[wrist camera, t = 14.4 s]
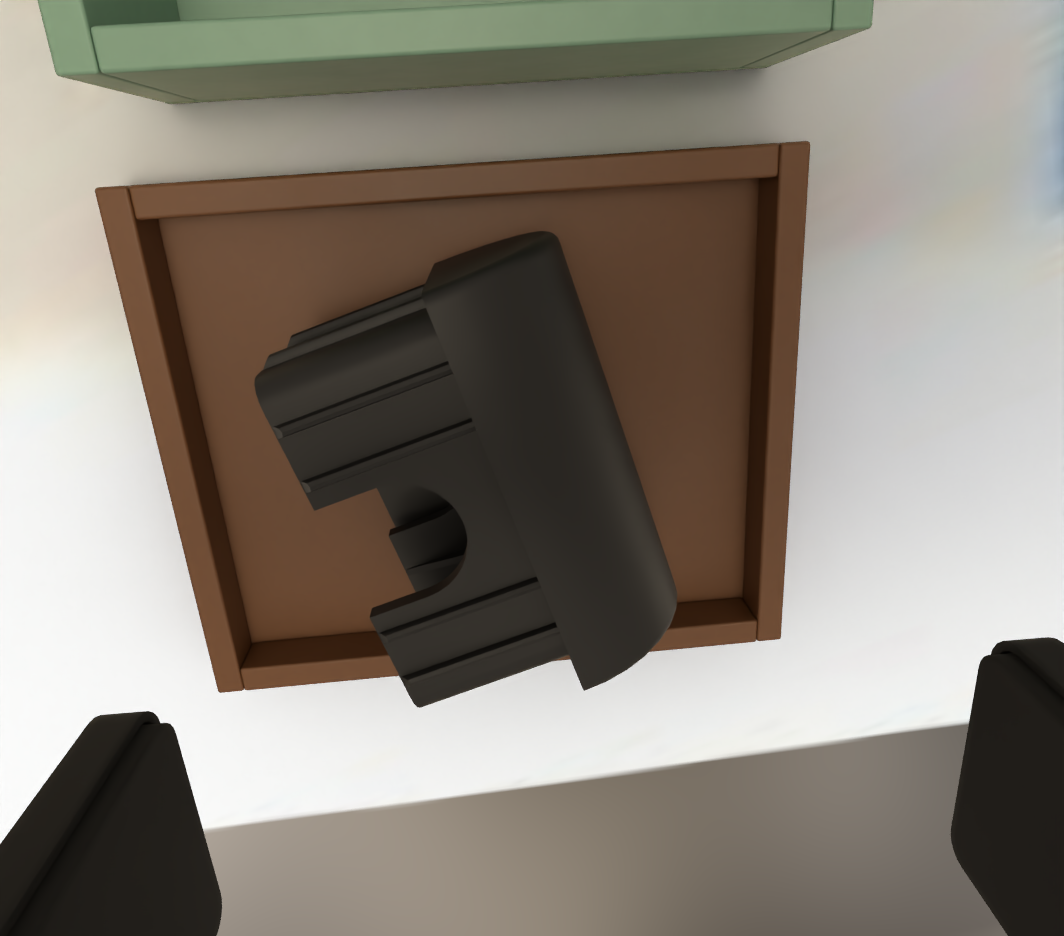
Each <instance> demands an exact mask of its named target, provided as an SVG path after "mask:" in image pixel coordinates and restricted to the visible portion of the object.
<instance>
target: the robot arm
mask: <svg viewBox="0 0 1064 936" xmlns="http://www.w3.org/2000/svg"><path fill="white" fill-rule="evenodd" d="M951 840H952V845H953V849H954V852H955V855H956V857H957V860H958V861H959V863H960V865H961V867H962V868H963V869H964V871H965V873H966V874H967V876H968V877H969V879H970V880H971V882H972V883H973V884H974V886H975V888H976V889H977V890H978V892H979V893H980V895H981V896H982V898H983V899H984V901H985V902H986V904H987V905H988V907H989V908H990V910H991V911H992V913H993V914H994V916H995V917H996V919H997V920H998V921H999V923H1000V925H1001V926H1002V927H1003V929H1004V930H1005V932H1006V933H1007V935H1008V936H1064V643H1062V642H1061V641H1059V640H1058V639H1055V638H1049V637H1047V638H1035V639H1023V640H1011V641H1002V642H1000V643H997V644H996V646H995V647H994V648H993V650H992V653H991V655H988V656H985V657H984V658H983V659H982V660H981V662H980V665H979V669H978V675H977V681H976V686H975V692H974V698H973V704H972V710H971V715H970V721H969V727H968V733H967V739H966V745H965V751H964V756H963V762H962V768H961V774H960V779H959V786H958V791H957V797H956V803H955V809H954V814H953V820H952V826H951ZM221 912H222V899H221V893H220V889H219V885H218V882H217V878H216V875H215V871H214V868H213V864H212V861H211V857H210V854H209V850H208V847H207V843H206V839H205V836H204V832H203V829H202V825H201V821H200V818H199V814H198V811H197V807H196V804H195V800H194V797H193V793H192V789H191V786H190V782H189V779H188V775H187V772H186V768H185V765H184V761H183V757H182V754H181V750H180V747H179V743H178V740H177V736H176V733H175V730H174V728H173V727H172V726H171V724H168V723H160V721H159V719H158V717H157V716H156V715H155V714H154V713H153V712H149V711H146V712H133V713H121V714H109V715H100V716H97V717H95V718H94V719H93V720H92V721H91V722H90V723H89V724H88V725H87V726H86V728H85V729H84V730H83V732H82V733H81V735H80V736H79V737H78V739H77V740H76V741H75V743H74V744H73V745H72V747H71V748H70V750H69V751H68V752H67V754H66V755H65V756H64V758H63V759H62V761H61V762H60V763H59V765H58V766H57V767H56V769H55V770H54V771H53V773H52V774H51V776H50V777H49V778H48V780H47V781H46V782H45V784H44V785H43V786H42V788H41V789H40V791H39V792H38V793H37V795H36V796H35V797H34V799H33V800H32V802H31V803H30V804H29V806H28V807H27V808H26V810H25V811H24V812H23V814H22V815H21V817H20V818H19V819H18V821H17V822H16V823H15V825H14V826H13V828H12V829H11V830H10V832H9V833H8V834H7V836H6V837H5V838H4V840H3V841H2V843H1V844H0V936H216V935H217V932H218V929H219V925H220V920H221Z"/></svg>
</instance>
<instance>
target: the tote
mask: <svg viewBox="0 0 1064 936" xmlns="http://www.w3.org/2000/svg"><path fill="white" fill-rule="evenodd" d="M873 3H874V0H38V4H39V8H40V12H41V16H42V20H43V24H44V28H45V32H46V36H47V40H48V44H49V48H50V52H51V56H52V60H53V64H54V68H55V72H56V74H57V75H58V76H61V77H65V78H69V79H73V80H77V81H81V82H85V83H89V84H93V85H97V86H101V87H105V88H109V89H113V90H117V91H121V92H125V93H129V94H133V95H137V96H141V97H145V98H149V99H153V100H157V101H161V102H165V103H168V104H179V103H195V102H211V101H228V100H244V99H261V98H277V97H293V96H310V95H326V94H343V93H359V92H375V91H392V90H408V89H425V88H441V87H457V86H474V85H490V84H507V83H523V82H539V81H556V80H572V79H589V78H605V77H621V76H638V75H654V74H671V73H687V72H703V71H720V70H736V69H753V68H767V67H769V66H771V65H774V64H776V63H779V62H782V61H784V60H787V59H790V58H792V57H795V56H798V55H800V54H803V53H806V52H808V51H811V50H813V49H816V48H819V47H821V46H824V45H827V44H829V43H832V42H835V41H837V40H840V39H843V38H845V37H848V36H851V35H853V34H856V33H858V32H861V31H864V30H866V29H869V28H870V27H871V25H872V15H873Z"/></svg>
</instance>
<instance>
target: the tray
mask: <svg viewBox="0 0 1064 936" xmlns="http://www.w3.org/2000/svg"><path fill="white" fill-rule="evenodd" d="M809 155H810V143H809V142H808V141H801V142H786V143H770V144H755V145H740V146H725V147H709V148H694V149H679V150H664V151H648V152H633V153H618V154H603V155H587V156H572V157H557V158H542V159H526V160H511V161H496V162H481V163H465V164H450V165H435V166H420V167H404V168H389V169H374V170H359V171H343V172H328V173H313V174H298V175H282V176H267V177H252V178H237V179H221V180H206V181H191V182H176V183H160V184H145V185H132V186H115V187H99V188H96V189H95V193H96V197H97V201H98V205H99V209H100V213H101V217H102V221H103V225H104V230H105V234H106V238H107V242H108V246H109V250H110V254H111V258H112V262H113V266H114V270H115V274H116V278H117V282H118V286H119V290H120V294H121V299H122V303H123V307H124V311H125V315H126V319H127V323H128V327H129V331H130V335H131V339H132V343H133V347H134V351H135V355H136V359H137V363H138V367H139V372H140V376H141V380H142V384H143V388H144V392H145V396H146V400H147V404H148V408H149V412H150V416H151V420H152V424H153V428H154V432H155V436H156V441H157V445H158V449H159V453H160V457H161V461H162V465H163V469H164V473H165V477H166V481H167V485H168V489H169V493H170V497H171V501H172V505H173V510H174V514H175V518H176V522H177V526H178V530H179V534H180V538H181V542H182V546H183V550H184V554H185V558H186V562H187V566H188V570H189V574H190V579H191V583H192V587H193V591H194V595H195V599H196V603H197V607H198V611H199V615H200V619H201V623H202V627H203V631H204V635H205V639H206V643H207V648H208V652H209V656H210V660H211V664H212V668H213V672H214V676H215V680H216V684H217V688H218V691H219V692H220V693H222V692H232V691H242V690H244V688H245V690H254V689H264V688H275V687H285V686H296V685H306V684H317V683H327V682H338V681H348V680H359V679H369V678H380V677H390V676H399V674H398V672H397V670H396V668H395V667H394V665H393V663H392V661H391V659H390V657H389V655H388V653H387V651H386V649H385V647H384V645H383V643H382V641H381V639H380V637H379V636H378V634H377V632H376V630H375V628H374V626H373V624H372V622H371V620H370V613H371V609H372V608H373V607H376V606H379V605H382V604H384V603H387V602H390V601H393V600H395V599H398V598H401V597H404V596H406V595H409V594H412V593H415V590H414V588H413V586H412V584H411V582H410V580H409V577H408V575H407V573H406V571H405V569H404V567H403V565H402V563H401V561H400V559H399V557H398V555H397V553H396V551H395V548H394V546H393V544H392V542H391V540H390V538H389V532H390V529H393V528H395V525H394V523H393V521H392V519H391V517H390V515H389V513H388V510H387V508H386V506H385V504H384V502H383V500H382V498H381V496H380V494H379V492H378V490H377V488H375V489H372V490H370V491H367V492H364V493H361V494H359V495H356V496H353V497H351V498H348V499H345V500H343V501H340V502H337V503H334V504H332V505H329V506H326V507H324V508H321V509H318V510H316V511H314V510H313V508H312V506H311V504H310V502H309V500H308V498H307V496H306V494H305V492H304V490H303V488H302V486H301V484H300V482H299V481H298V479H297V477H296V475H295V473H294V471H293V469H292V467H291V465H290V463H289V461H288V459H287V457H286V455H285V453H284V451H283V450H282V448H281V446H280V444H279V442H278V440H277V438H276V436H275V434H274V432H273V430H272V428H271V426H270V424H269V422H268V420H267V419H266V417H265V415H264V413H263V411H262V408H261V406H260V404H259V402H258V398H257V395H256V391H255V386H254V383H255V377H256V375H258V374H259V373H260V372H261V371H262V370H263V369H264V366H265V363H266V360H267V358H268V356H269V355H270V354H272V353H275V352H278V351H280V350H283V349H285V348H287V346H288V343H289V340H290V338H291V336H292V335H293V334H296V333H298V332H301V331H303V330H306V329H309V328H311V327H314V326H316V325H319V324H322V323H324V322H327V321H329V320H332V319H335V318H337V317H340V316H342V315H345V314H348V313H350V312H353V311H355V310H358V309H361V308H363V307H366V306H368V305H371V304H374V303H376V302H379V301H381V300H384V299H387V298H389V297H392V296H394V295H397V294H400V293H402V292H405V291H407V290H410V289H413V288H415V287H418V286H420V285H423V284H425V283H426V281H427V279H428V276H429V274H430V272H431V270H432V267H433V265H434V263H437V262H439V261H442V260H445V259H447V258H450V257H453V256H455V255H458V254H461V253H464V252H467V251H469V250H472V249H475V248H478V247H481V246H484V245H487V244H490V243H493V242H497V241H500V240H503V239H506V238H510V237H514V236H517V235H521V234H526V233H530V232H536V231H547V232H551V233H553V234H555V235H556V236H557V237H558V239H559V241H560V244H561V247H562V250H563V253H564V256H565V259H566V262H567V265H568V268H569V271H570V274H571V277H572V280H573V283H574V286H575V289H576V292H577V294H578V297H579V300H580V303H581V306H582V309H583V312H584V315H585V318H586V321H587V324H588V327H589V330H590V333H591V336H592V339H593V342H594V345H595V348H596V351H597V354H598V357H599V360H600V363H601V366H602V369H603V372H604V375H605V378H606V381H607V383H608V386H609V389H610V392H611V395H612V398H613V401H614V404H615V407H616V410H617V413H618V416H619V419H620V422H621V425H622V428H623V431H624V434H625V437H626V440H627V443H628V446H629V449H630V452H631V455H632V458H633V461H634V464H635V467H636V470H637V472H638V475H639V478H640V481H641V484H642V487H643V490H644V493H645V496H646V499H647V502H648V505H649V508H650V511H651V514H652V517H653V520H654V523H655V526H656V529H657V532H658V535H659V538H660V541H661V544H662V547H663V550H664V553H665V556H666V558H667V561H668V564H669V567H670V570H671V573H672V576H673V579H674V583H675V586H676V590H677V606H676V611H675V613H674V616H673V619H672V621H671V624H670V626H669V627H668V629H667V630H666V632H665V633H664V635H663V636H662V638H661V640H660V641H659V642H658V643H657V644H656V645H655V646H654V647H653V648H652V649H651V650H650V651H649V652H652V651H662V650H673V649H683V648H694V647H704V646H714V645H725V644H735V643H746V642H755V641H756V640H758V641H765V640H775V639H780V638H781V623H782V607H783V590H784V573H785V556H786V540H787V523H788V506H789V490H790V473H791V456H792V439H793V423H794V406H795V389H796V373H797V356H798V339H799V322H800V306H801V289H802V272H803V256H804V239H805V222H806V205H807V189H808V172H809ZM568 659H570V656H569V655H568V656H565V657H563V658H560V659H557V660H568ZM557 660H554V661H557Z"/></svg>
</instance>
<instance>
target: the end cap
mask: <svg viewBox="0 0 1064 936" xmlns="http://www.w3.org/2000/svg"><path fill="white" fill-rule="evenodd" d="M254 386H255V391H256V395H257V398H258V402H259V404H260V406H261V408H262V411H263V413H264V415H265V417H266V419H267V420H268V422H269V424H270V426H271V428H272V430H273V432H274V434H275V436H276V438H277V440H278V442H279V444H280V446H281V448H282V450H283V451H284V453H285V455H286V457H287V459H288V461H289V463H290V465H291V467H292V469H293V471H294V473H295V475H296V477H297V479H298V481H299V482H300V484H301V486H302V488H303V490H304V492H305V494H306V496H307V498H308V500H309V502H310V504H311V506H312V508H313V510H314V511H316V510H318V509H321V508H324V507H326V506H329V505H332V504H334V503H337V502H340V501H343V500H345V499H348V498H351V497H353V496H356V495H359V494H361V493H364V492H367V491H370V490H372V489H375V488H377V490H378V492H379V494H380V496H381V498H382V500H383V502H384V504H385V506H386V508H387V510H388V513H389V515H390V517H391V519H392V521H393V523H394V525H395V528H393V529H390V532H389V538H390V540H391V542H392V544H393V546H394V548H395V551H396V553H397V555H398V557H399V559H400V561H401V563H402V565H403V567H404V569H405V571H406V573H407V575H408V577H409V580H410V582H411V584H412V586H413V588H414V590H415V593H412V594H409V595H406V596H404V597H401V598H398V599H395V600H393V601H390V602H387V603H384V604H382V605H379V606H376V607H373V608H372V609H371V613H370V620H371V622H372V624H373V626H374V628H375V630H376V632H377V634H378V636H379V637H380V639H381V641H382V643H383V645H384V647H385V649H386V651H387V653H388V655H389V657H390V659H391V661H392V663H393V665H394V667H395V668H396V670H397V672H398V674H399V676H400V678H401V680H402V682H403V684H404V686H405V688H406V690H407V692H408V694H409V696H410V698H411V699H412V701H413V703H414V704H415V705H416V706H417V707H419V708H420V707H423V706H426V705H429V704H432V703H435V702H437V701H440V700H443V699H446V698H449V697H452V696H455V695H457V694H460V693H463V692H466V691H469V690H472V689H474V688H477V687H480V686H483V685H486V684H489V683H491V682H494V681H497V680H500V679H503V678H506V677H509V676H511V675H514V674H517V673H520V672H523V671H526V670H528V669H531V668H534V667H537V666H540V665H543V664H545V663H548V662H551V661H554V660H557V659H560V658H563V657H565V656H568V655H569V656H570V659H571V661H572V663H573V666H574V668H575V671H576V673H577V676H578V678H579V680H580V683H581V685H582V688H583V690H584V691H585V690H587V689H589V688H592V687H594V686H597V685H599V684H601V683H604V682H606V681H608V680H610V679H612V678H613V677H615V676H617V675H618V674H620V673H622V672H624V671H625V670H627V669H628V668H630V667H631V666H632V665H634V664H635V663H636V662H638V661H639V660H640V659H642V658H643V657H644V656H645V655H646V654H647V653H648V652H649V651H650V650H651V649H652V648H653V647H654V646H655V645H656V644H657V643H658V642H659V641H660V640H661V638H662V636H663V635H664V633H665V632H666V630H667V629H668V627H669V626H670V624H671V621H672V619H673V616H674V613H675V611H676V606H677V590H676V586H675V583H674V579H673V576H672V573H671V570H670V567H669V564H668V561H667V558H666V556H665V553H664V550H663V547H662V544H661V541H660V538H659V535H658V532H657V529H656V526H655V523H654V520H653V517H652V514H651V511H650V508H649V505H648V502H647V499H646V496H645V493H644V490H643V487H642V484H641V481H640V478H639V475H638V472H637V470H636V467H635V464H634V461H633V458H632V455H631V452H630V449H629V446H628V443H627V440H626V437H625V434H624V431H623V428H622V425H621V422H620V419H619V416H618V413H617V410H616V407H615V404H614V401H613V398H612V395H611V392H610V389H609V386H608V383H607V381H606V378H605V375H604V372H603V369H602V366H601V363H600V360H599V357H598V354H597V351H596V348H595V345H594V342H593V339H592V336H591V333H590V330H589V327H588V324H587V321H586V318H585V315H584V312H583V309H582V306H581V303H580V300H579V297H578V294H577V292H576V289H575V286H574V283H573V280H572V277H571V274H570V271H569V268H568V265H567V262H566V259H565V256H564V253H563V250H562V247H561V244H560V241H559V239H558V237H557V236H556V235H555V234H553V233H551V232H547V231H536V232H530V233H526V234H521V235H517V236H514V237H510V238H506V239H503V240H500V241H497V242H493V243H490V244H487V245H484V246H481V247H478V248H475V249H472V250H469V251H467V252H464V253H461V254H458V255H455V256H453V257H450V258H447V259H445V260H442V261H439V262H437V263H434V265H433V267H432V270H431V272H430V274H429V276H428V279H427V281H426V283H425V284H423V285H420V286H418V287H415V288H413V289H410V290H407V291H405V292H402V293H400V294H397V295H394V296H392V297H389V298H387V299H384V300H381V301H379V302H376V303H374V304H371V305H368V306H366V307H363V308H361V309H358V310H355V311H353V312H350V313H348V314H345V315H342V316H340V317H337V318H335V319H332V320H329V321H327V322H324V323H322V324H319V325H316V326H314V327H311V328H309V329H306V330H303V331H301V332H298V333H296V334H293V335H292V336H291V338H290V340H289V343H288V346H287V348H285V349H283V350H280V351H278V352H275V353H272V354H270V355H269V356H268V358H267V360H266V363H265V366H264V369H263V370H262V371H261V372H260V373H259V374H258V375H256V377H255V383H254Z"/></svg>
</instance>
